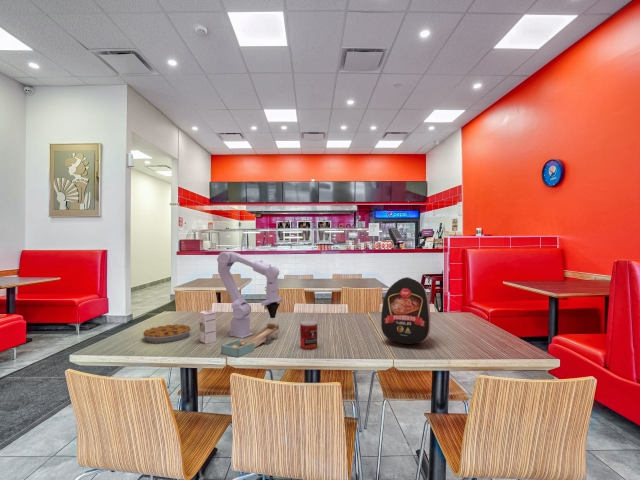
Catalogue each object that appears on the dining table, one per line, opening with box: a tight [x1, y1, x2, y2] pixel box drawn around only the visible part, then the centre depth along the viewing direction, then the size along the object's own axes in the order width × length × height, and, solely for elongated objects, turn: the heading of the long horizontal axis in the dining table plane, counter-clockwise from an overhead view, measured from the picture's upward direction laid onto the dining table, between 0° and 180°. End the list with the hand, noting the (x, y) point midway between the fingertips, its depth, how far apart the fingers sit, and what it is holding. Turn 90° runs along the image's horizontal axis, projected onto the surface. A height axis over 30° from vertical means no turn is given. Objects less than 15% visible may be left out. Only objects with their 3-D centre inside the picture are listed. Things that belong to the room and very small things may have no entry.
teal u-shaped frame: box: [220, 339, 255, 358], centre depth 138 cm, size 10×10×4 cm
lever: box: [233, 322, 280, 349], centre depth 154 cm, size 14×18×3 cm
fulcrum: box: [253, 333, 273, 346], centre depth 152 cm, size 9×4×3 cm, turn 59°
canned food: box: [299, 320, 318, 351], centre depth 145 cm, size 8×8×11 cm
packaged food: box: [380, 276, 431, 345], centre depth 150 cm, size 22×20×30 cm
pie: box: [142, 323, 192, 344], centre depth 162 cm, size 22×22×5 cm
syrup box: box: [199, 309, 217, 345], centre depth 154 cm, size 6×6×14 cm
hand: (272, 317), depth 162 cm, fingers closed
